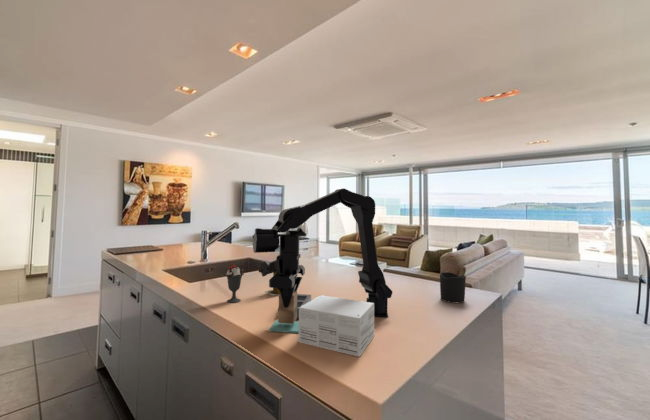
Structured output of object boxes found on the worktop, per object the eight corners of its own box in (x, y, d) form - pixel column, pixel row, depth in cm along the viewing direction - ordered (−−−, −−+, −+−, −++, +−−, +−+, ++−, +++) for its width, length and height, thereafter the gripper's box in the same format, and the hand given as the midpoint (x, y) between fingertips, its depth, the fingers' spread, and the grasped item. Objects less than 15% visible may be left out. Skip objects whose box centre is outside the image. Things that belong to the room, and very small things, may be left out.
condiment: (291, 293, 115) (291, 264, 115) (272, 296, 111) (272, 266, 111) (283, 289, 121) (284, 261, 121) (265, 291, 117) (265, 263, 117)
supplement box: (374, 336, 76) (375, 302, 76) (359, 358, 64) (360, 318, 64) (320, 324, 83) (320, 293, 84) (297, 342, 71) (298, 306, 72)
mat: (305, 323, 84) (305, 321, 84) (300, 333, 77) (300, 331, 77) (276, 321, 85) (276, 319, 85) (268, 330, 78) (269, 329, 78)
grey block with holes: (311, 302, 103) (311, 294, 103) (302, 318, 87) (302, 309, 87) (290, 301, 104) (290, 293, 104) (278, 317, 88) (278, 307, 88)
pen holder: (461, 297, 114) (461, 273, 114) (468, 304, 105) (469, 278, 105) (437, 295, 116) (437, 271, 116) (442, 302, 107) (443, 276, 107)
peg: (296, 318, 83) (297, 291, 83) (293, 323, 78) (293, 295, 78) (282, 317, 83) (283, 290, 83) (278, 322, 79) (278, 294, 79)
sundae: (220, 302, 102) (221, 261, 102) (232, 297, 108) (233, 259, 108) (234, 304, 99) (235, 263, 99) (246, 299, 105) (247, 260, 106)
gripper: (272, 246, 91) (271, 294, 91) (250, 255, 73) (249, 314, 72) (305, 248, 90) (304, 296, 90) (292, 256, 71) (290, 317, 71)
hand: (288, 304), depth 81 cm, fingers closed on peg, 4 cm apart
